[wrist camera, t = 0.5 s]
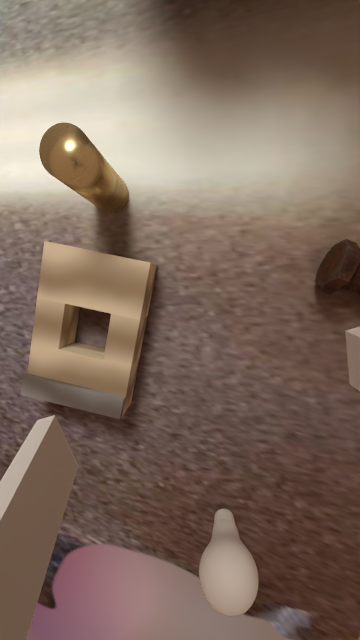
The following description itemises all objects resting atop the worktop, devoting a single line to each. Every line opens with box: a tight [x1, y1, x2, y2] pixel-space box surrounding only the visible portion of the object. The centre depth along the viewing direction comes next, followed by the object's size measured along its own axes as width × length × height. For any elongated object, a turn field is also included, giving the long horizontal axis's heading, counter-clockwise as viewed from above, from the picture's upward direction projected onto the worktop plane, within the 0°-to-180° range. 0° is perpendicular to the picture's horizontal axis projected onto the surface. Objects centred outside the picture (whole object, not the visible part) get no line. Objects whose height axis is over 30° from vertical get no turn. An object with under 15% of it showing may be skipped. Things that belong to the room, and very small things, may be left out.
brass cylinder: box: [39, 123, 129, 213], centre depth 28 cm, size 4×4×11 cm
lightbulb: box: [199, 509, 258, 616], centre depth 32 cm, size 6×6×11 cm
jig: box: [21, 241, 157, 419], centre depth 33 cm, size 18×12×5 cm, turn 168°
